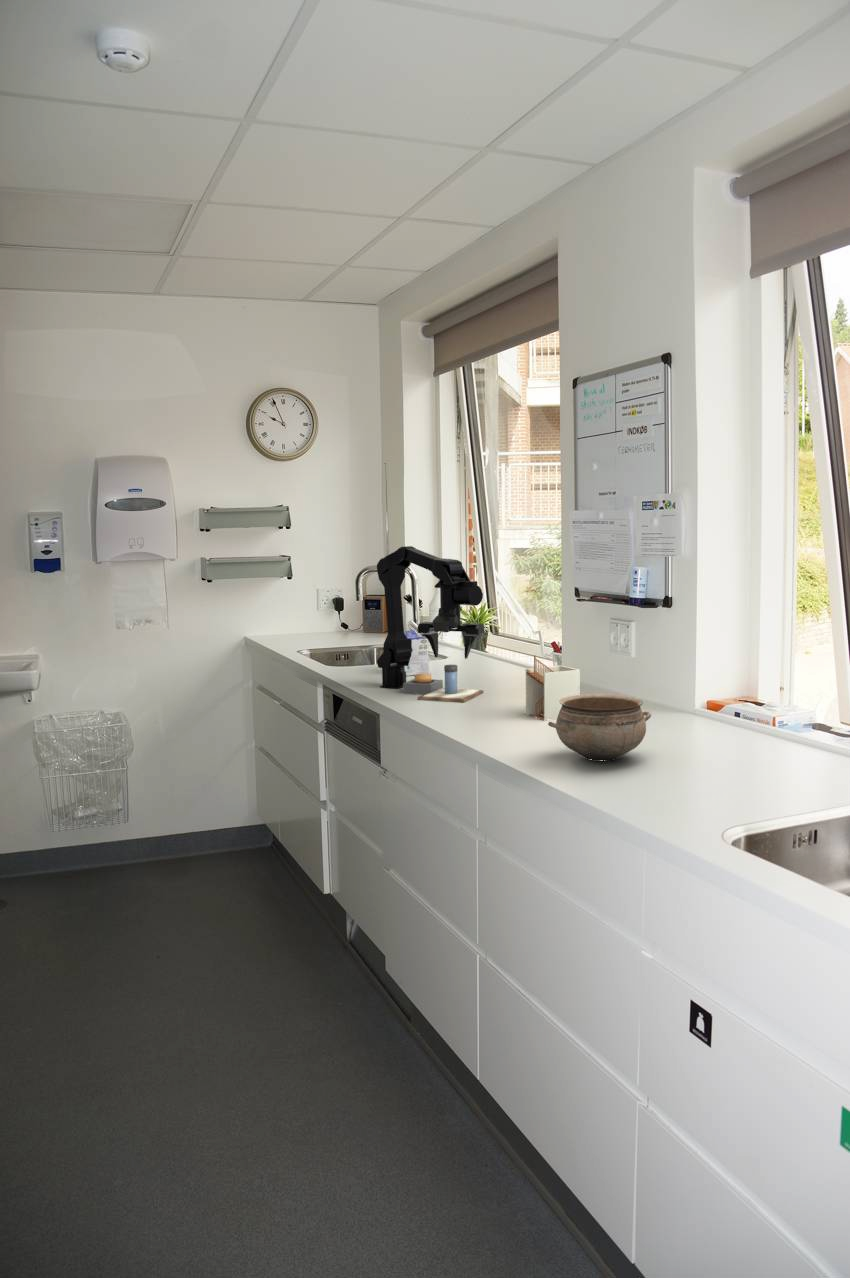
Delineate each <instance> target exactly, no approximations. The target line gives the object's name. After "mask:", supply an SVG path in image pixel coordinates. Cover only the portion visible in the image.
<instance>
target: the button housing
mask: <svg viewBox="0 0 850 1278" xmlns="http://www.w3.org/2000/svg"><path fill="white" fill-rule="evenodd" d="M443 683H444V682H443V679H432V678H431V682H429V683H416V682H415V678H413V679H410V680H407V681H406V682H405V683H403V687H402V690H403V691H402V692H403V694H409V695H410V694H413V695H424V694H426V693H429V692H433V691H435V690H437V689H440V688H444V687H443V686H444V684H443Z"/></svg>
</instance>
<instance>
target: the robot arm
mask: <svg viewBox="0 0 850 1278" xmlns="http://www.w3.org/2000/svg"><path fill="white" fill-rule="evenodd" d="M411 564H414V565H416V566H418V567H420V568H423V569H425V570H428V571H429V572H431V574H432V575H433V576H434V577H435V578H437V579H438V581H437V583H435V584H434V588H436V589H439V600H440V601H439V603H440V604H439V605H440V607H439V608H438V614H437V615H436V616H435V617H434V619H432V621H424V622H419V623H418V624H417V627H416V628H417V634H421V637H426V638H427V639H428V644H429V645H430V647H431V649H432V652H433V655H434V658H438V657H439V632H440V633H441V632H443V633H449V632H463V633H465V635H463V638H464V659H465V660H466V659H468V657H469V654H470V652H471V649H472V648H473V644H474V642H475V641H476V639H477V637H479V636H481V635H482V634H483V633H485V626H484V624H483V623H482V622H468V623H466V624H465V625H462V624H463V621H462V620H461V611H462V610H463V609H462V606H475V607H476V606H479V605H480V604H481V603H482V601H483V597H484V593H483V591H482V588H481V587H480V586H479V585H478V581H477V580H473V581H471V579H470V577H469V575H468V573H467V572H466V570H465V568H464V566H463V563H462V561H460V560H459V559H452V558H441V557H438V556H436V555H433V554H430V553H429V552H426V551H423V550H420V549H417V548H416V547H415V546H411V545H408V546H400V547H399V548H398V549H396V550H395V551H393V552H390V554H387V555H385V556H384V557H382V558H380V559H379V561H378V562H377V564H376V571H377V577H378V580H379V581H380V583H381V585H382V586H383V588H384V589H383V590H384V600H385V601H384V603H385V611H386V612H385V614H386V626H387V627H386V629H387V635H386V638H385V639H384V642H383V650H382V653H381V654H380V656H379V657H378V659H376V663H377V667H378V668H379V669H380V668H381V673H382V675H381V677H382V678H381V679H382V684H381V685H379V686H380V688H387V689H388V688H389V689H401V688H403V683H405V682H407V676H406V671H405V666H408V665H409V661H410V657H411V654H412V652H413V650H412V640H411V638H409V639H408V638H407V637H406V633H405V630H404V629H405V628H404V615H403V614H404V612H403V602H402V601H403V600H402V598H403V597H402V589H401V588H402V584H403V582H404V580H405V577H406V570H407V568H409V567H410V566H411ZM461 605H462V606H461Z"/></svg>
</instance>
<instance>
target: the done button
mask: <svg viewBox="0 0 850 1278" xmlns="http://www.w3.org/2000/svg"><path fill="white" fill-rule="evenodd" d="M414 679H415V682H416V683H429V682H431V679H432V674H431V673H429V674H415V675H414Z"/></svg>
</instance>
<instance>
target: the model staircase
mask: <svg viewBox="0 0 850 1278" xmlns="http://www.w3.org/2000/svg"><path fill="white" fill-rule="evenodd" d="M580 673H581V669H580V668H579V669H578V668H574V667H569V666H564V665H553V666H547V665H546V664H544V663H543V662H542V661H541V660H539V659H537V657H536V655H535V654H534V655H533V667H531V668H525V716H530V715H529V714H532V715H534V718H535V717H537V718H536V719H538V718H540V719H539V720H541V719H543V720H542V721H544V720H546V721H548V720H547V719H554V720H557V719H556V718H557V717H558V714H559V712H560V709H561V707H562V704H560V702H559V701H560V699H562V698H565V697H568V696H574V695H581V694H580V693H581V691H580V690H581V689H580V688H581V687H580V686H581V674H580ZM537 713H539V714H537Z"/></svg>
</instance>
